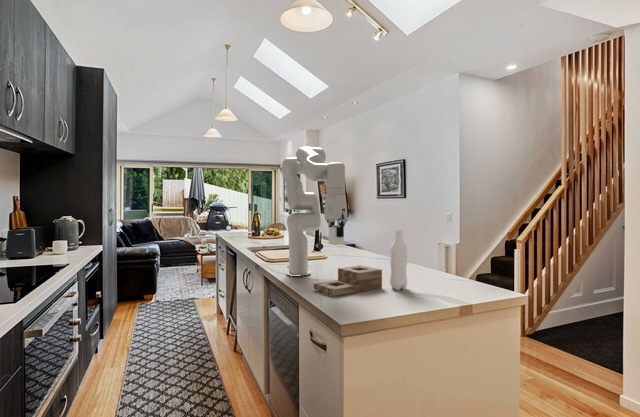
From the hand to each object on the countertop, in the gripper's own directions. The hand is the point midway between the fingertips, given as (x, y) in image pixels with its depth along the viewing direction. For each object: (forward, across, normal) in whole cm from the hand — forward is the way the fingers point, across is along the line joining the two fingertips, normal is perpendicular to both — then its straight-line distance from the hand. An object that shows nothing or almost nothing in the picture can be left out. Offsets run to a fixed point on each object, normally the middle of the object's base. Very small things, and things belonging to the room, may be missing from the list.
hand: (336, 236), depth 160 cm
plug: (+3, 0, 0) cm, 3 cm away
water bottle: (+23, +12, +24) cm, 36 cm away
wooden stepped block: (+23, 0, +6) cm, 24 cm away
